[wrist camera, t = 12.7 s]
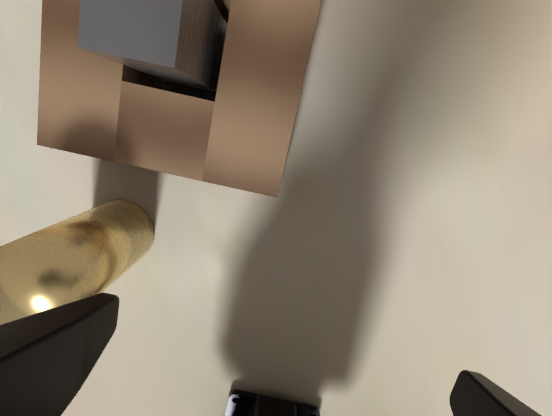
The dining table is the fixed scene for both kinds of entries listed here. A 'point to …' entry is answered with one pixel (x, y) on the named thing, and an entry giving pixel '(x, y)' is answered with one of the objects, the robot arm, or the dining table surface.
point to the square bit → (157, 37)
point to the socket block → (182, 98)
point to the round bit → (72, 258)
